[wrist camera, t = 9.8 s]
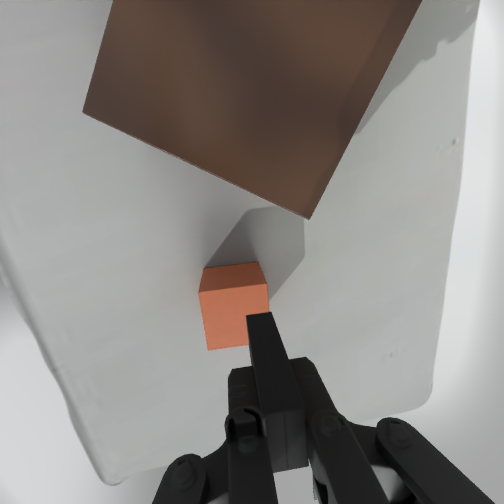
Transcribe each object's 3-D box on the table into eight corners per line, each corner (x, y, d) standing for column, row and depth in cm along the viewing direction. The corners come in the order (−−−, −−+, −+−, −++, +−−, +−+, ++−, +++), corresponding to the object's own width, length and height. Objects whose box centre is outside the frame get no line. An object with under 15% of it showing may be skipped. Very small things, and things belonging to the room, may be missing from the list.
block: (203, 268, 28) (198, 291, 22) (258, 261, 28) (267, 283, 22) (210, 316, 29) (207, 350, 24) (262, 310, 30) (271, 341, 24)
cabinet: (198, -44, 20) (176, -231, 11) (350, 56, 24) (434, -24, 14) (137, 138, 24) (81, 112, 14) (279, 205, 27) (309, 220, 17)
